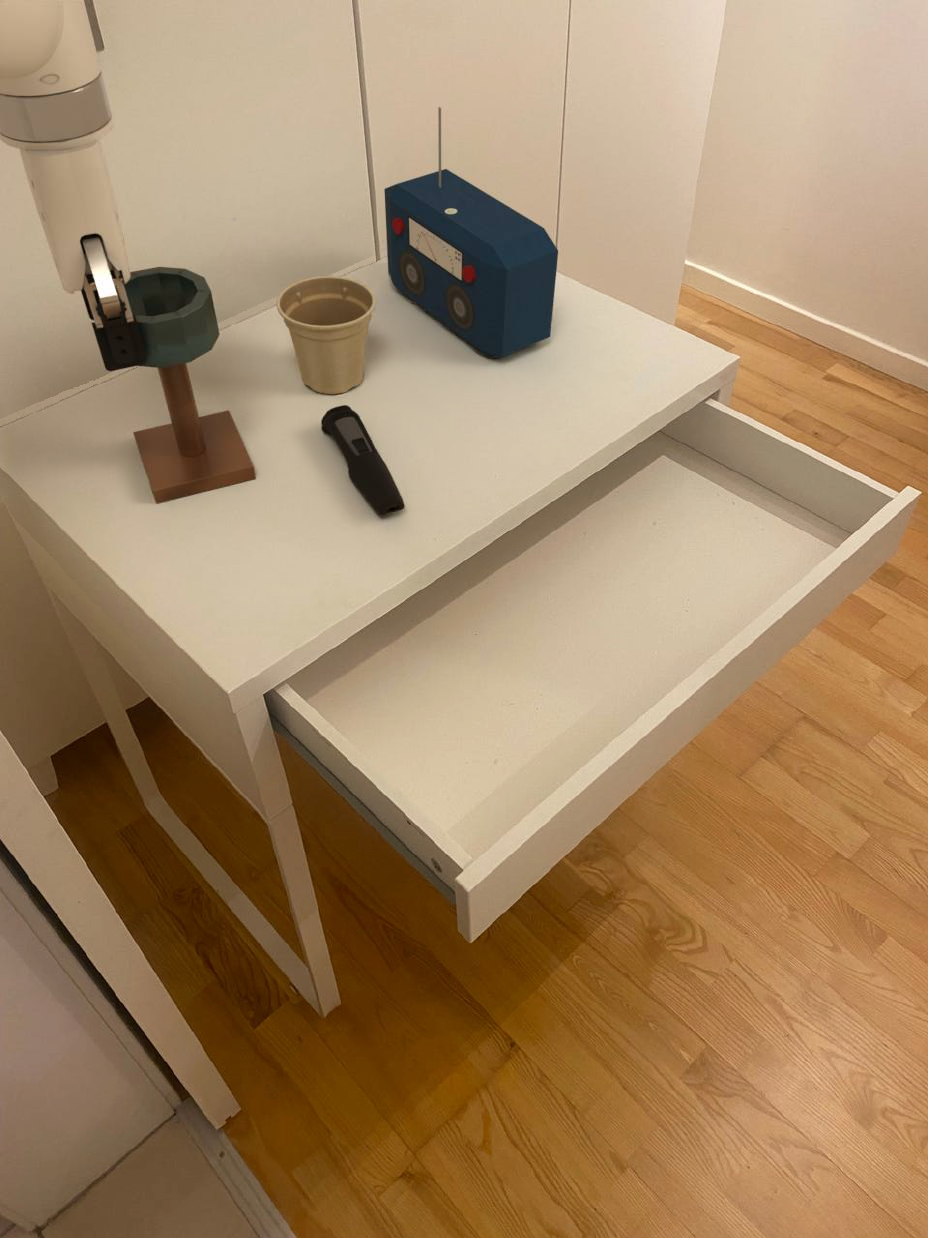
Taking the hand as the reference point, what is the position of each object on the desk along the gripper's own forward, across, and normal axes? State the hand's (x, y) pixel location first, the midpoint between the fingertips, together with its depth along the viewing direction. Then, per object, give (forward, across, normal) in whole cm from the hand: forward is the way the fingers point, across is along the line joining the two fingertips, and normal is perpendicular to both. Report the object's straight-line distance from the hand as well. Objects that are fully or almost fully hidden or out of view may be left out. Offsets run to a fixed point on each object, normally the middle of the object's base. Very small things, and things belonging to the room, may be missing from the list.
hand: (117, 338), depth 77 cm
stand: (+14, 0, +4) cm, 14 cm away
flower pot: (+14, -8, +20) cm, 25 cm away
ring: (+1, 0, +4) cm, 4 cm away
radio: (+14, -14, +37) cm, 42 cm away
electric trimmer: (+14, +7, +18) cm, 24 cm away
